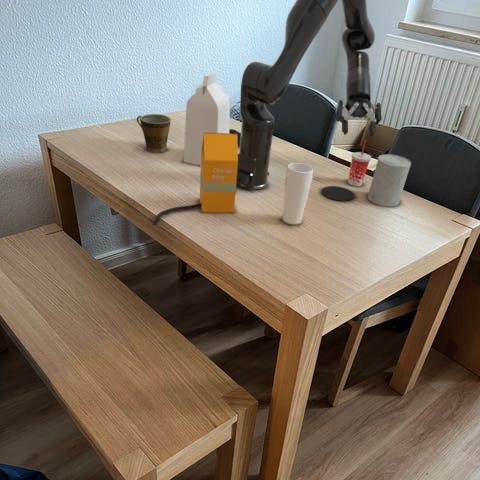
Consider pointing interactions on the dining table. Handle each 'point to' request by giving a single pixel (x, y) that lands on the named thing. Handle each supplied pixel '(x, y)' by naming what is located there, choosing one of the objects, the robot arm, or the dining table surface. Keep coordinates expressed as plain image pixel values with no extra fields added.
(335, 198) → the coaster
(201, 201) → the orange juice
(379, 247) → the dining table surface
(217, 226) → the dining table surface
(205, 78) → the milk
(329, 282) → the dining table surface
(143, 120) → the ceramic cup
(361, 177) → the beverage cup
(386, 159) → the grey wide plain cylinder
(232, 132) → the hairbrush
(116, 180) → the dining table surface
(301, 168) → the drinking glass
